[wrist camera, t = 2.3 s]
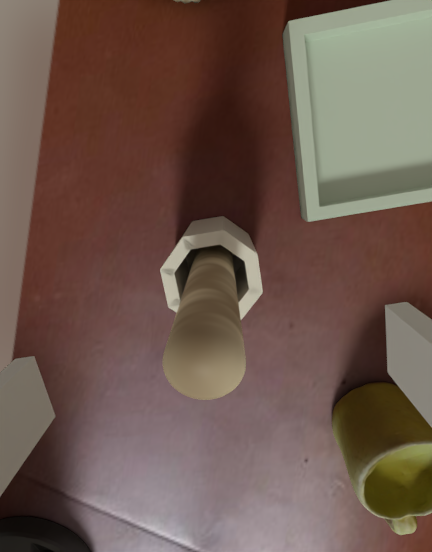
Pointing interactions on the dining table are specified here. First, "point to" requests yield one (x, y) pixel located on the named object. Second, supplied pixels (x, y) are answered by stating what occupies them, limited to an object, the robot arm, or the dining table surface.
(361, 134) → the tray
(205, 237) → the crock
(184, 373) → the dowel
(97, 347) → the dining table surface
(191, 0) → the seashell
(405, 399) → the mug
